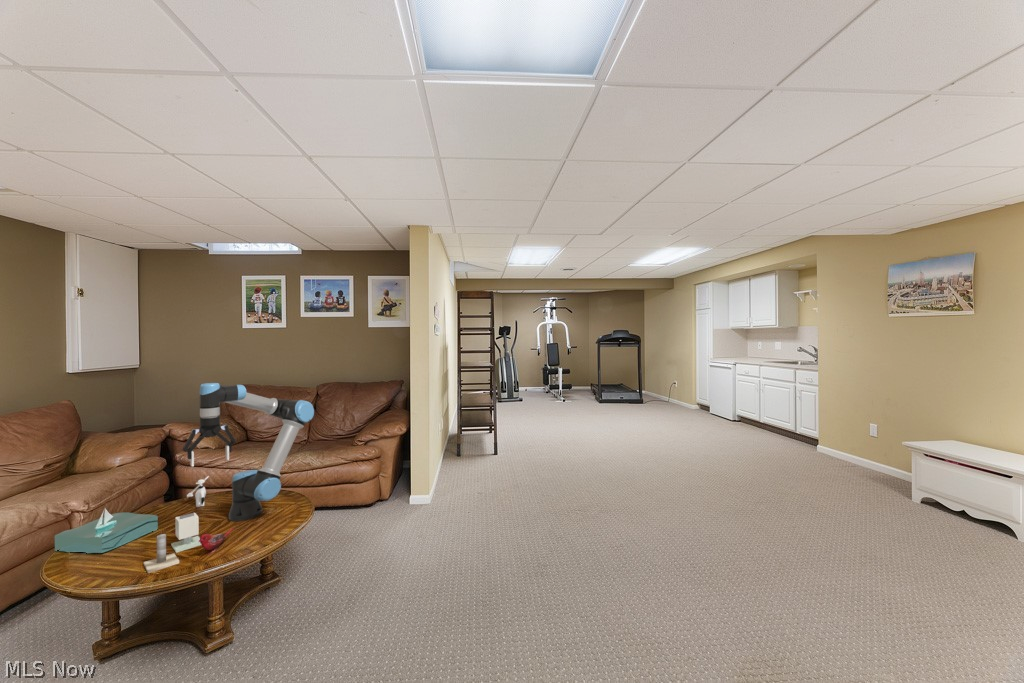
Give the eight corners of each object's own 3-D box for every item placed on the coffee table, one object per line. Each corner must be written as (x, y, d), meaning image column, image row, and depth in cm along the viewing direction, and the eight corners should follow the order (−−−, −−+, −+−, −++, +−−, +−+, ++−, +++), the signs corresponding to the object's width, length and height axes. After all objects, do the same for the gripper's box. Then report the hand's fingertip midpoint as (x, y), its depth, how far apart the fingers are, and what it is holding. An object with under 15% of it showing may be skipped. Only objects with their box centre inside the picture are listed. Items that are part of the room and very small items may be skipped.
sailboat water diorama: (102, 555, 185) (101, 518, 185) (54, 551, 189) (54, 515, 189) (157, 530, 210) (157, 497, 210) (114, 527, 214) (114, 494, 214)
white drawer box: (194, 529, 198) (194, 510, 198) (198, 534, 193) (198, 514, 193) (175, 535, 192) (175, 515, 192) (178, 539, 188) (178, 519, 188)
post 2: (171, 546, 192) (171, 519, 192) (198, 538, 200) (197, 512, 200) (176, 553, 186) (175, 525, 186) (203, 545, 193) (203, 518, 193)
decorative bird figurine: (195, 560, 180) (195, 536, 180) (231, 540, 197) (231, 519, 197) (201, 560, 179) (200, 537, 179) (237, 541, 196) (236, 519, 196)
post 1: (143, 564, 176) (143, 536, 176) (174, 555, 184) (173, 528, 184) (148, 573, 170) (147, 543, 169) (179, 563, 177) (179, 535, 177)
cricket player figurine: (186, 505, 240) (186, 478, 240) (208, 500, 247) (208, 475, 247) (188, 512, 231) (187, 484, 231) (211, 507, 237) (211, 480, 237)
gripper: (238, 412, 208) (238, 455, 208) (174, 419, 189) (174, 467, 189) (243, 414, 203) (243, 458, 203) (177, 421, 184) (178, 470, 184)
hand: (210, 462), depth 196 cm, fingers open, 13 cm apart
